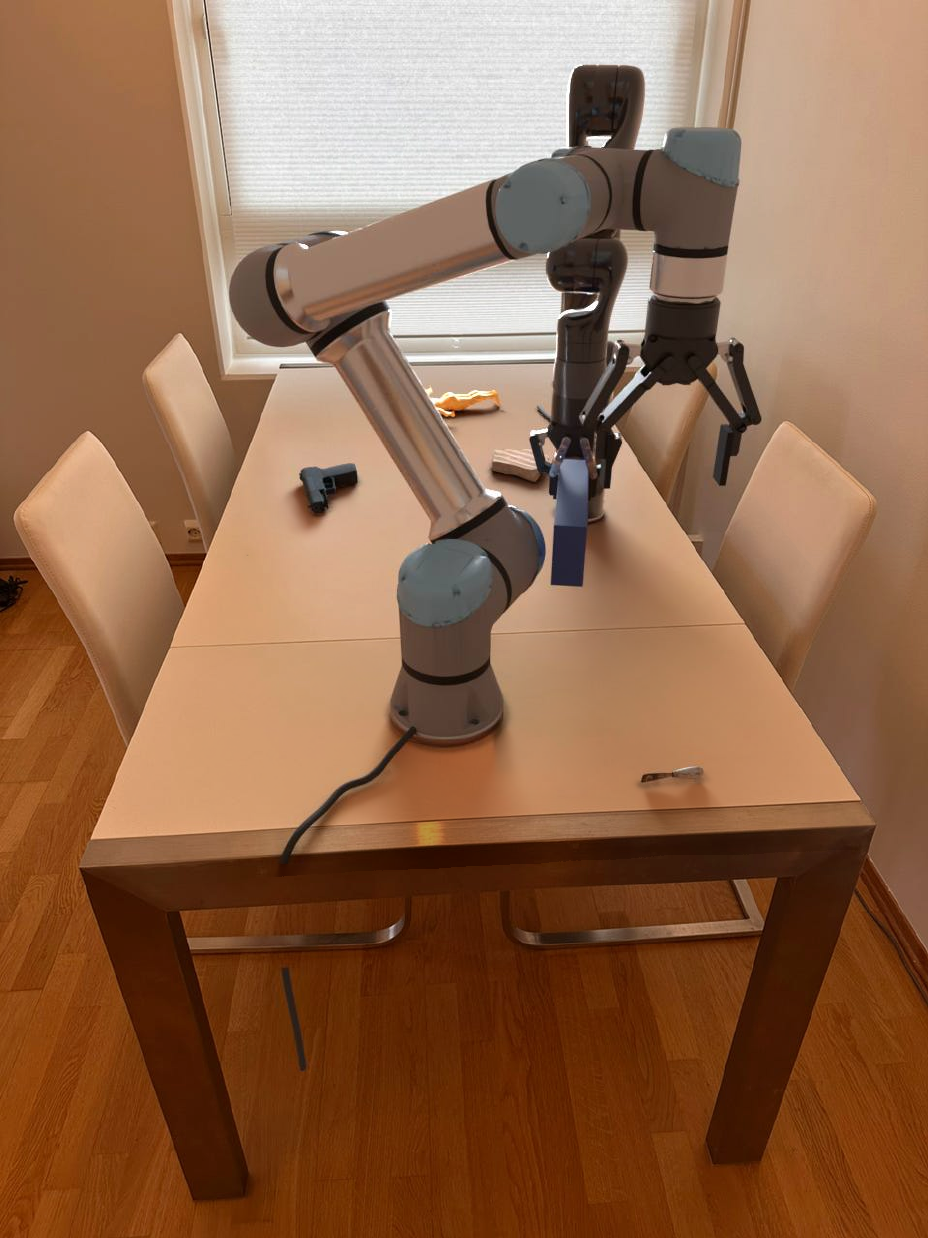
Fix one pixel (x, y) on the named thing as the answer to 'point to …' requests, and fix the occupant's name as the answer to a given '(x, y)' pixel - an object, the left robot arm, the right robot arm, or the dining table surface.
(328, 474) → the handgun
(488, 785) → the dining table surface
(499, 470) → the stone
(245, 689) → the dining table surface
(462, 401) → the human figure
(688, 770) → the putty knife
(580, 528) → the bar
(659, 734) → the dining table surface
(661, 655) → the dining table surface
